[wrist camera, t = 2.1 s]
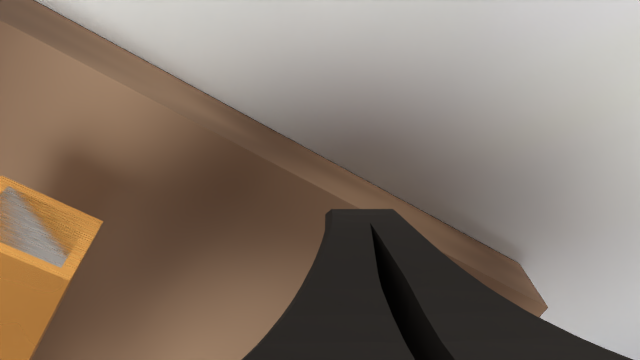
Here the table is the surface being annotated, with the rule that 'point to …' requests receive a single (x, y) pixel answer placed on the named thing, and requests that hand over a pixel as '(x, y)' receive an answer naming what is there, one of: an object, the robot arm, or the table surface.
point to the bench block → (177, 200)
